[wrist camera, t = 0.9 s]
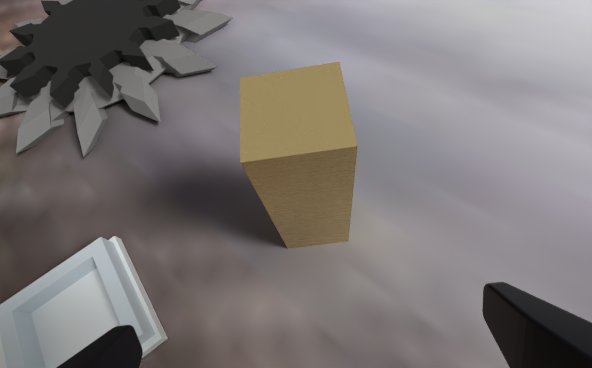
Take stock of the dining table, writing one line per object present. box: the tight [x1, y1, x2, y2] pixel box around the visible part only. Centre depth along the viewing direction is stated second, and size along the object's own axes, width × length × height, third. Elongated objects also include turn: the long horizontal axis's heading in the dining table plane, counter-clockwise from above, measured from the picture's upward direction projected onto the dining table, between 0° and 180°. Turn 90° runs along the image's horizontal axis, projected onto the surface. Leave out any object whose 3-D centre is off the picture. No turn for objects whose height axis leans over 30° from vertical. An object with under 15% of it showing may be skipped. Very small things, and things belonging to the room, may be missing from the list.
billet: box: [240, 62, 357, 248], centre depth 18 cm, size 4×4×12 cm
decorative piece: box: [0, 0, 232, 156], centre depth 35 cm, size 30×4×30 cm
